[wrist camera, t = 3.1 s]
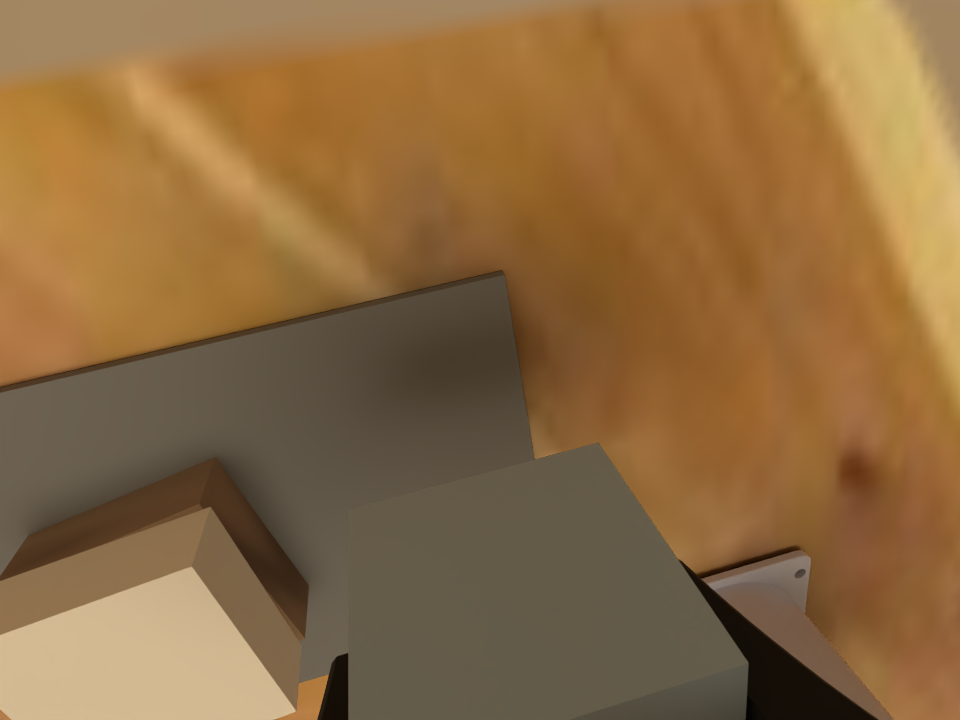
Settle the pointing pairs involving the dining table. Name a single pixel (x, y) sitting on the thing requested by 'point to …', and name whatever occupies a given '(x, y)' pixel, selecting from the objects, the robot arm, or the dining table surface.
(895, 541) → the dining table surface
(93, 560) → the cream slab
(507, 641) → the gray cube
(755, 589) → the robot arm
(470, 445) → the felt mat
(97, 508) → the walnut slab
